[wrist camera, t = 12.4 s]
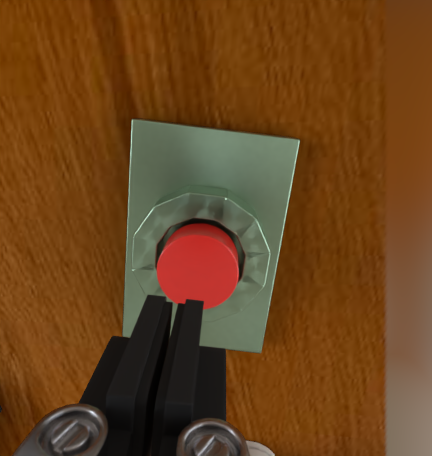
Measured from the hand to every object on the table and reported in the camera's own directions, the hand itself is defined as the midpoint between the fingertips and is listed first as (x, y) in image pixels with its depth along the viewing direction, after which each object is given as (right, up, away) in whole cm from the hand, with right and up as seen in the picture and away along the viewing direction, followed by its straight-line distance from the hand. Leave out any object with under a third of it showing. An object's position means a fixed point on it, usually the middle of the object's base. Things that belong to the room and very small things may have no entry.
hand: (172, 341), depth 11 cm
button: (+1, +2, +7) cm, 7 cm away
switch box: (+1, +3, +9) cm, 10 cm away
